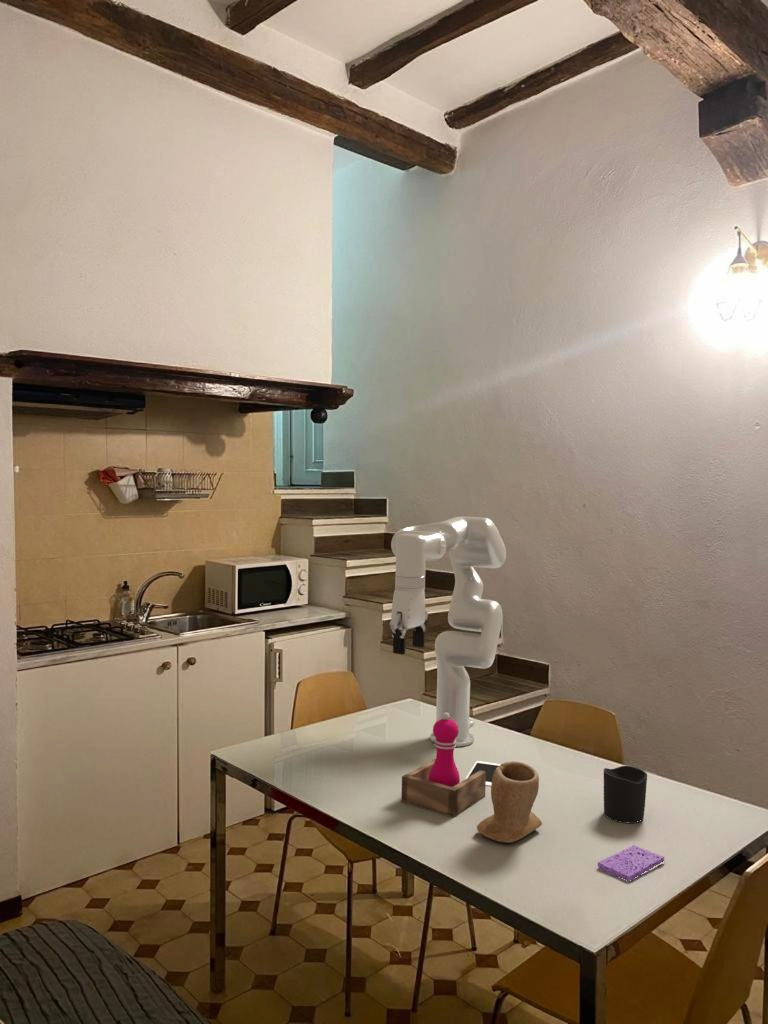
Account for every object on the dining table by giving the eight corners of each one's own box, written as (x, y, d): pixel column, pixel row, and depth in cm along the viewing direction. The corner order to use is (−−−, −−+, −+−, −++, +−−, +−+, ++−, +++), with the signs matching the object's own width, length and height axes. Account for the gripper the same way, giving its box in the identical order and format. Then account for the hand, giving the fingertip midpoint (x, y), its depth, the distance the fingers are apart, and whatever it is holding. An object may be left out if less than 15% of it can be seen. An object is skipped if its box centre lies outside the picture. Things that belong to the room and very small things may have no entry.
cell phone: (463, 783, 197) (463, 781, 197) (476, 763, 212) (476, 760, 212) (494, 788, 195) (494, 785, 195) (505, 767, 210) (505, 764, 210)
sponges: (664, 866, 157) (664, 856, 157) (628, 885, 149) (628, 875, 149) (633, 852, 162) (633, 843, 162) (596, 870, 154) (597, 861, 154)
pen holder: (644, 827, 173) (646, 782, 173) (600, 820, 177) (602, 776, 176) (646, 811, 182) (647, 768, 182) (604, 804, 185) (605, 762, 185)
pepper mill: (459, 792, 189) (461, 709, 188) (459, 804, 182) (461, 718, 181) (428, 790, 190) (431, 707, 189) (427, 802, 182) (430, 716, 182)
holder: (434, 782, 196) (435, 758, 196) (485, 796, 188) (485, 771, 188) (401, 801, 184) (402, 776, 184) (454, 817, 176) (454, 790, 176)
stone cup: (515, 854, 159) (518, 780, 158) (469, 835, 167) (471, 764, 167) (556, 832, 170) (559, 763, 169) (511, 815, 178) (513, 749, 178)
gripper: (414, 577, 209) (413, 642, 210) (379, 585, 194) (378, 654, 195) (439, 580, 205) (438, 645, 206) (405, 588, 190) (404, 658, 191)
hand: (408, 650), depth 200 cm, fingers open, 9 cm apart
